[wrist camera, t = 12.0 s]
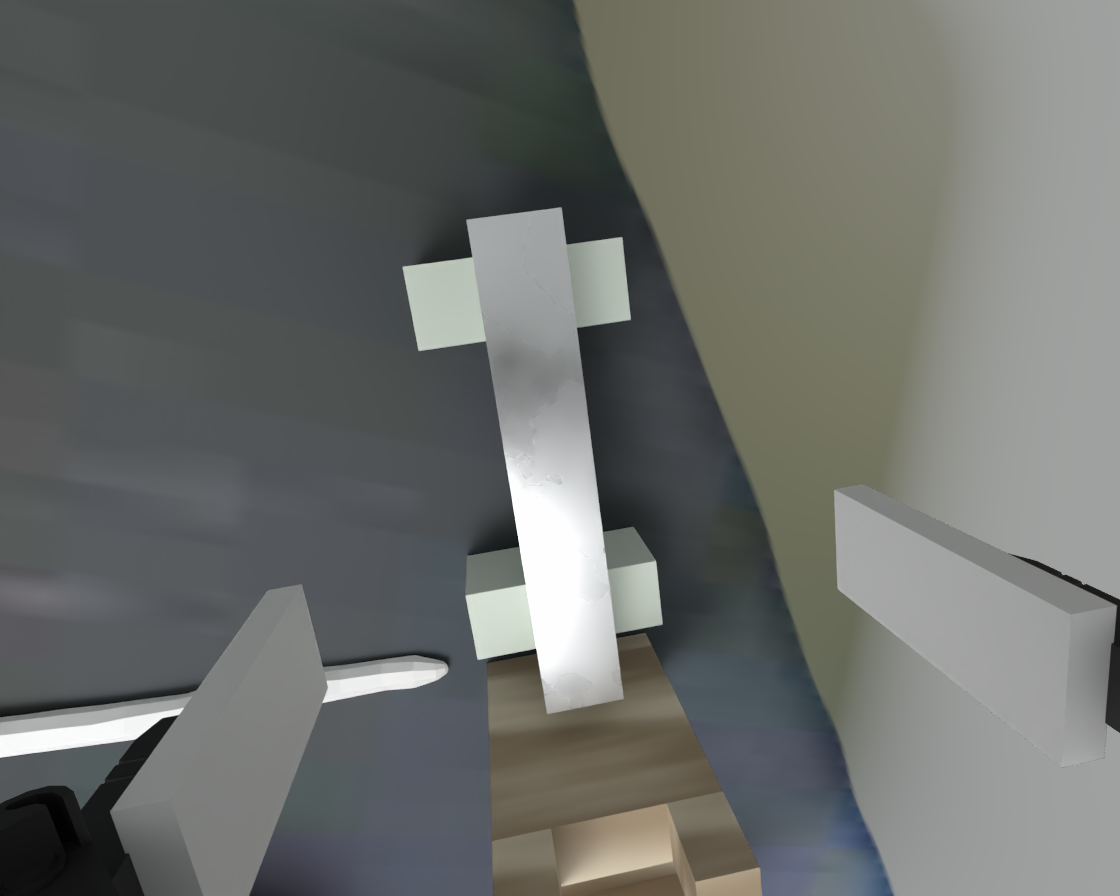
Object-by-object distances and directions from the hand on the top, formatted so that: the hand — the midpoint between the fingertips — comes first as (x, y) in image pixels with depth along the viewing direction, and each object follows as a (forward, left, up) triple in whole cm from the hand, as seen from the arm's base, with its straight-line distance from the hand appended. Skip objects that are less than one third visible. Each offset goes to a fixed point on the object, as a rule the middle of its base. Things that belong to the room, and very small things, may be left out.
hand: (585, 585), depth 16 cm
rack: (-19, 0, -14) cm, 23 cm away
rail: (0, 0, -10) cm, 10 cm away
